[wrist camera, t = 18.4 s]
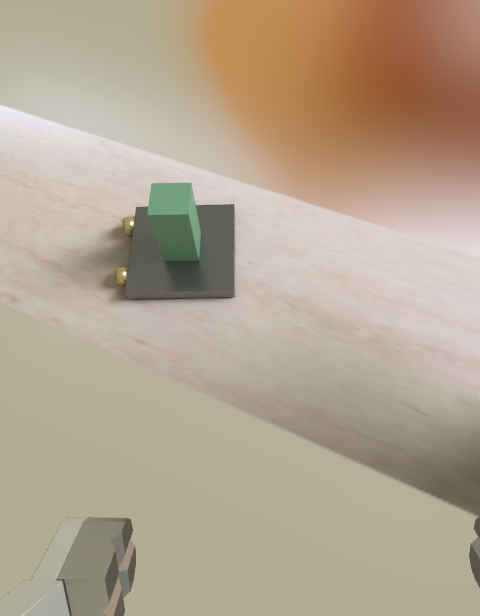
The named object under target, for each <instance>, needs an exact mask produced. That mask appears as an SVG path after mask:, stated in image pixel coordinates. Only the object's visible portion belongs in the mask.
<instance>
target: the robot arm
mask: <svg viewBox="0 0 480 616" xmlns="http://www.w3.org/2000/svg"><path fill="white" fill-rule="evenodd" d="M474 530H475V532H476V533H477V535H478V536H479V537H478V538H477V539H476V540H475V541H474V542H472V543H471V547H470V554H469V557H470V563H471V569H472V572H473V574H474V577H475V580H476V581H477V583H478V585H479V587H480V516H479V517H478V518H477V519H476V521H475V525H474ZM132 531H133V529H132V523H131V520H130V519H128V518H89V517H88V518H70V517H68V518H66V519H65V520H64V521H63V522H62V523H61V525H60V527H59V529H58V531H57V532H56V534H55V536H54V538H53V540H52V542H51V543H50V545H49V547H48V549H47V551H46V553H45V555H44V557H43V558H42V560H41V562H40V564H39V566H38V568H37V569H36V571H35V573H34V575H33V577H32V579H31V580H30V581H23V582H22V583H20V584H19V585H18V586H17V587H15V588H14V589H13V590H12V591H10V592H9V593H8V594H7V595H5V596H4V597H3V598H1V599H0V616H124V612H125V608H124V601H123V598H124V597H125V596H126V595H127V594H128V593H129V592H130V591H131V587H132V583H133V580H134V573H135V566H136V551H135V545H134V544H133V543H132V542H131V541H130V538H131V535H132Z"/></svg>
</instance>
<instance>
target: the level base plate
mask: <svg viewBox="0 0 480 616" xmlns="http://www.w3.org/2000/svg"><path fill="white" fill-rule="evenodd" d="M196 210H197V215H198V220H199V225H200V231H201V236H200V252H199V260H198V261H164V260H163V257H162V254H161V252H160V249H159V246H158V243H157V241H156V238H155V235H154V232H153V229H152V227H151V224H150V221H149V218H148V216H147V214H148V207H136V213H135V218H124V219H123V230H124V233H125V234H126V235H132V234H133V235H132V242H131V249H130V257H129V264H128V267H117V268H116V270H115V280H116V283H117V284H118V285H126V286H125V295H126V296H127V298H128V299H164V298H211V297H235V209H234V204H229V205H196Z"/></svg>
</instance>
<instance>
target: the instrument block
mask: <svg viewBox="0 0 480 616" xmlns="http://www.w3.org/2000/svg"><path fill="white" fill-rule="evenodd" d="M147 216H148V218H149V221H150V224H151V227H152V229H153V232H154V235H155V238H156V241H157V243H158V246H159V249H160V252H161V254H162V257H163V260H164V261H198V260H199V252H200V236H201V231H200V225H199V220H198V215H197V210H196V205H195V200H194V195H193V190H192V184H191V183H157V184H152V185H151V192H150V199H149V206H148V214H147Z"/></svg>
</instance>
